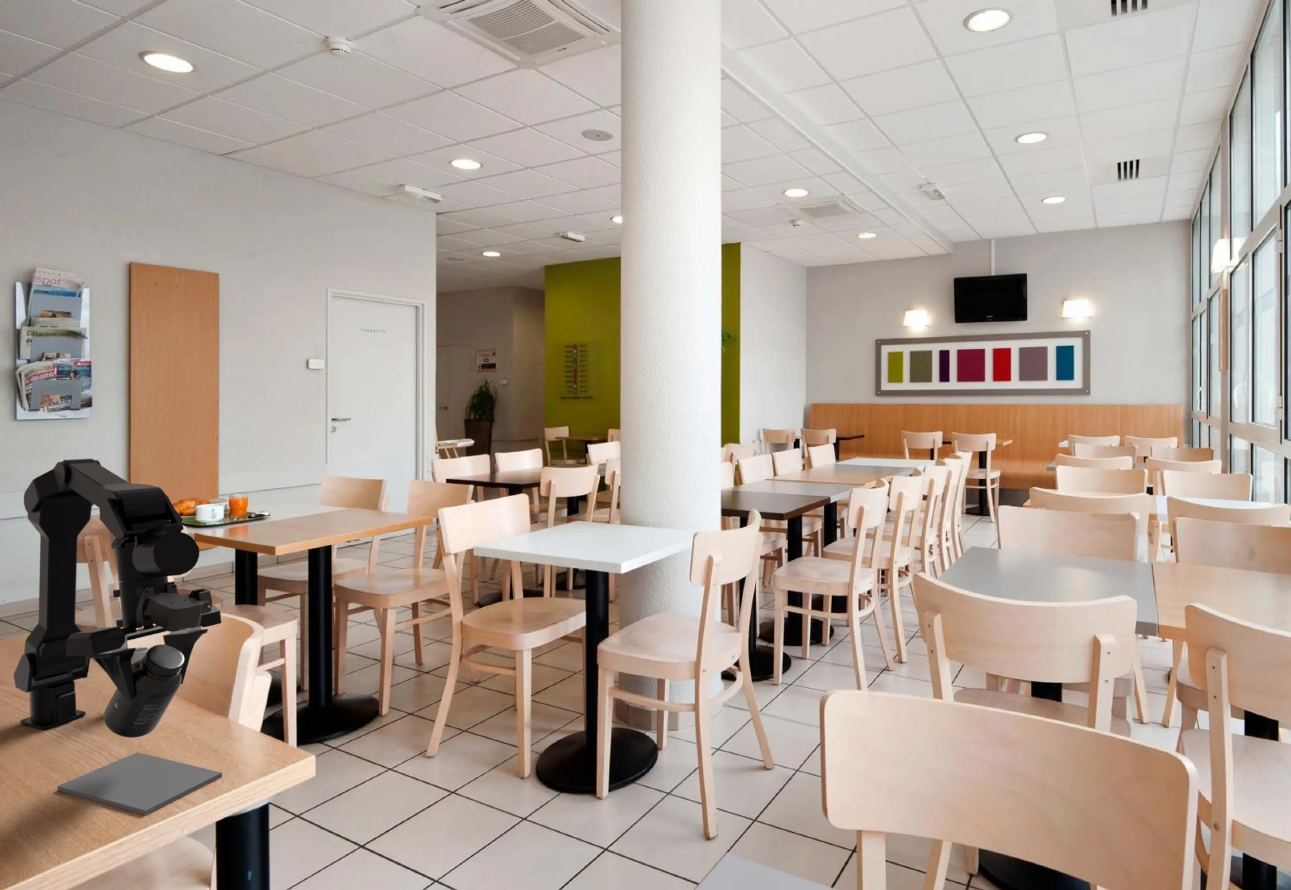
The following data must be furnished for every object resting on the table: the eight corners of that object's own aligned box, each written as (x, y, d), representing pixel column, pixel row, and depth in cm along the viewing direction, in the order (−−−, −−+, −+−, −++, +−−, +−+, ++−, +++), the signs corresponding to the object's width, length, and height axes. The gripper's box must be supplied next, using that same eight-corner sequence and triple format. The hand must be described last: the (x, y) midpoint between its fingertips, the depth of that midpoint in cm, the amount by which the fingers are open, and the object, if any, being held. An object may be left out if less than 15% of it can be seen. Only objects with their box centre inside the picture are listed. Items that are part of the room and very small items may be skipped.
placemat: (57, 790, 105) (57, 785, 105) (137, 756, 116) (137, 752, 116) (145, 815, 99) (145, 810, 99) (222, 776, 109) (221, 772, 109)
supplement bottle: (97, 703, 110) (133, 638, 107) (151, 700, 115) (186, 638, 112) (107, 741, 106) (144, 675, 103) (161, 736, 111) (198, 674, 108)
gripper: (116, 585, 98) (129, 713, 97) (243, 563, 115) (254, 671, 114) (57, 592, 102) (69, 714, 101) (188, 569, 119) (199, 674, 118)
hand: (155, 692), depth 108 cm, fingers closed on supplement bottle, 7 cm apart
